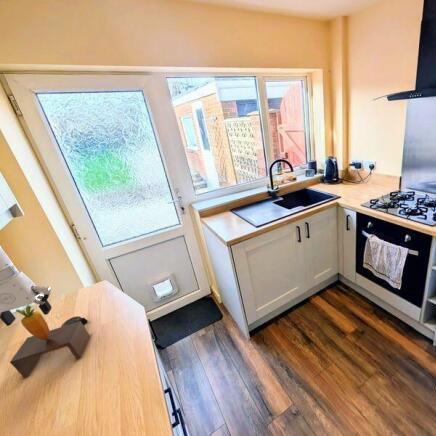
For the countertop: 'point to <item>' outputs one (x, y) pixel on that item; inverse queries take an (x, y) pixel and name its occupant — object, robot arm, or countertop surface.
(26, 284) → the robot arm
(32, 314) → the carrot
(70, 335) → the dark brown riser stand
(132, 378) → the countertop surface
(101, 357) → the countertop surface
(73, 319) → the tape measure
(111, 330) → the countertop surface
